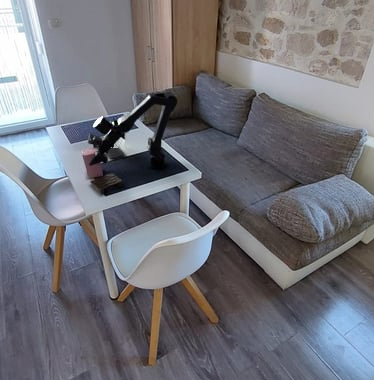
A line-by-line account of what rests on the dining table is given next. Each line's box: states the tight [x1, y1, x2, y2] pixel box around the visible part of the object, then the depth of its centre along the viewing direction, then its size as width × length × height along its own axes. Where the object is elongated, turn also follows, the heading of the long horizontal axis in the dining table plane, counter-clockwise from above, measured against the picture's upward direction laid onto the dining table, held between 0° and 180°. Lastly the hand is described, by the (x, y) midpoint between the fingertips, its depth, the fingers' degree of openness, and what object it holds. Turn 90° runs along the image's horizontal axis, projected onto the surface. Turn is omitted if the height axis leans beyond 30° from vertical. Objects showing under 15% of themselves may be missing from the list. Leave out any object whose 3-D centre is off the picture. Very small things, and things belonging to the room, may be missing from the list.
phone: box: [106, 147, 125, 160], centre depth 176 cm, size 8×1×15 cm
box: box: [81, 147, 104, 179], centre depth 153 cm, size 7×6×13 cm
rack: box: [89, 172, 123, 196], centre depth 147 cm, size 12×10×3 cm
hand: (89, 161), depth 152 cm, fingers closed on box, 6 cm apart
